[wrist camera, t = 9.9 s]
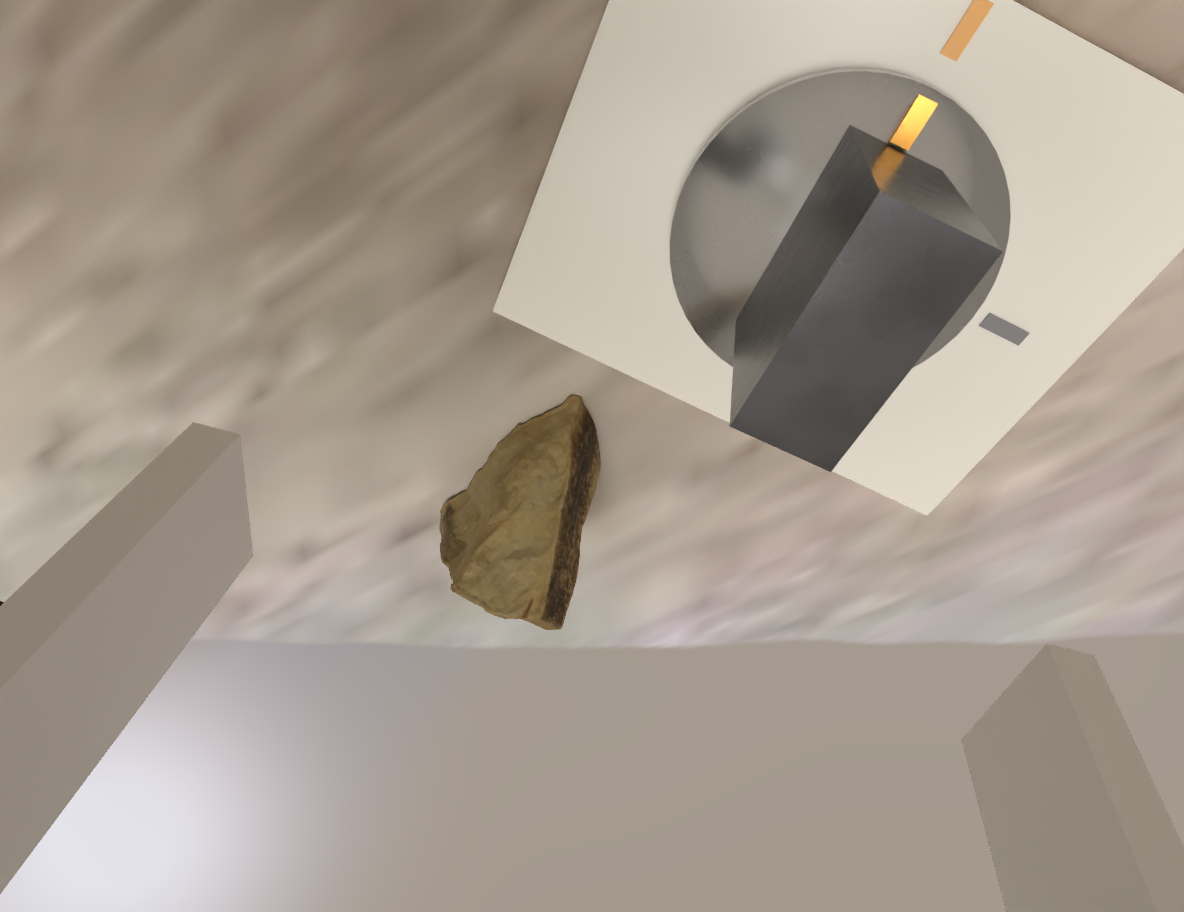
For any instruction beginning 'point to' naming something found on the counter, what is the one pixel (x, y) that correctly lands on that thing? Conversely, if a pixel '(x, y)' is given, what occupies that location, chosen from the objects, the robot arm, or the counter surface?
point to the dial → (836, 248)
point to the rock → (525, 519)
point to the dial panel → (883, 41)
